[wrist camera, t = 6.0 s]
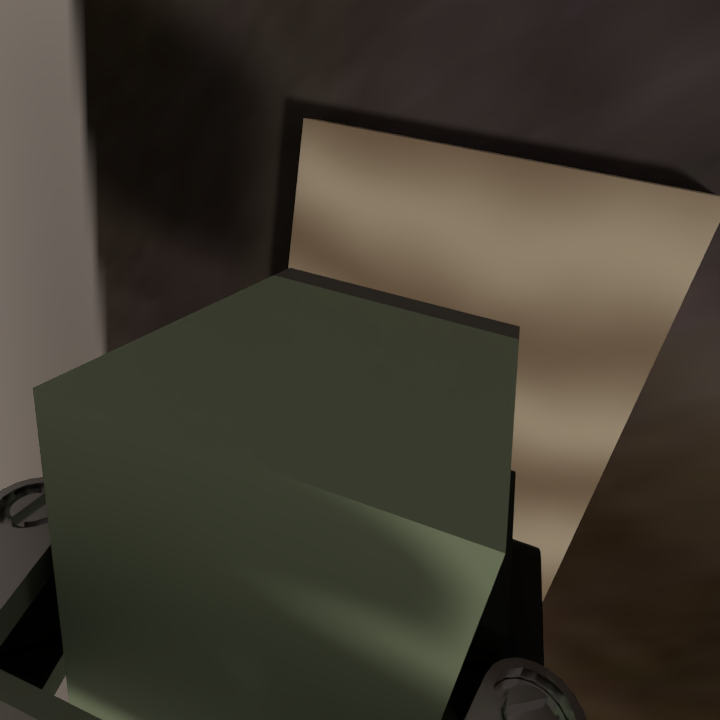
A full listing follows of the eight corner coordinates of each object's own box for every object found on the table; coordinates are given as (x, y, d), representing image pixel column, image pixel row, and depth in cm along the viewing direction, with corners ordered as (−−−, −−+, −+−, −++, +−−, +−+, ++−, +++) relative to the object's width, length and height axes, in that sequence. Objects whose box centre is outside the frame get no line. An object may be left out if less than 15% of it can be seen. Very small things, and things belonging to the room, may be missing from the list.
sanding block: (290, 267, 11) (32, 388, 5) (520, 326, 10) (506, 553, 4) (259, 540, 14) (80, 794, 9) (429, 605, 13) (354, 943, 8)
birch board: (318, 119, 21) (303, 117, 20) (716, 194, 18) (730, 198, 16) (269, 545, 31) (257, 563, 30) (514, 640, 28) (513, 665, 27)
